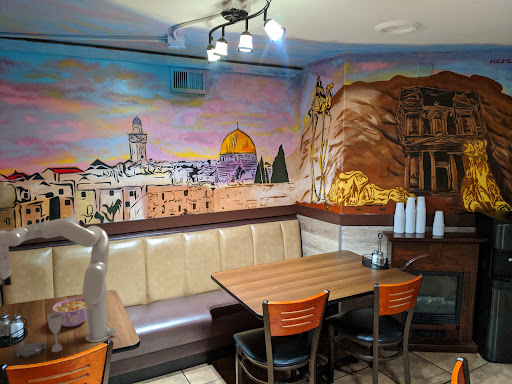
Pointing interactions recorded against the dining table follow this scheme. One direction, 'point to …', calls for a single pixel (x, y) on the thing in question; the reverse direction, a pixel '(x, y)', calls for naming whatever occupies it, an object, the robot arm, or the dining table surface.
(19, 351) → the gear trivet
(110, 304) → the dining table surface
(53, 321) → the chalice
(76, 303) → the bowl of food
